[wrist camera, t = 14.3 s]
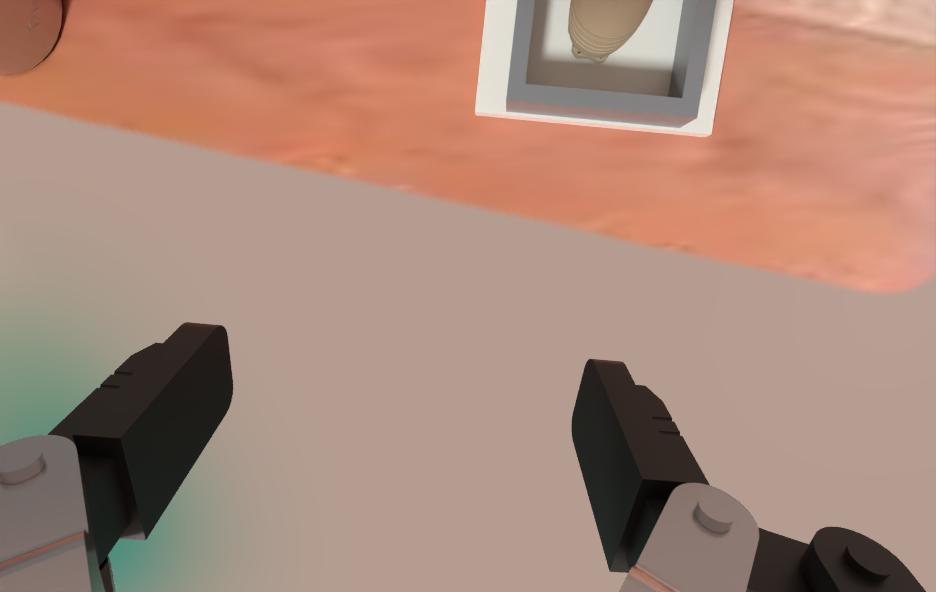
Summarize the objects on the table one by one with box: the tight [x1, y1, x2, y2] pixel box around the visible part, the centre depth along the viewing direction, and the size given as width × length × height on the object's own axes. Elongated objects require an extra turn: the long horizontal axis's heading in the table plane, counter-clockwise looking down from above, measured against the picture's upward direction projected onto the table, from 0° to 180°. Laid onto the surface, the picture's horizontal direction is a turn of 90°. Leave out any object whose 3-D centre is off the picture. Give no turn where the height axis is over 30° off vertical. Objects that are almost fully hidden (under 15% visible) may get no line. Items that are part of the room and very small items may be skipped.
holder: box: [475, 0, 734, 137], centre depth 31 cm, size 15×10×4 cm
